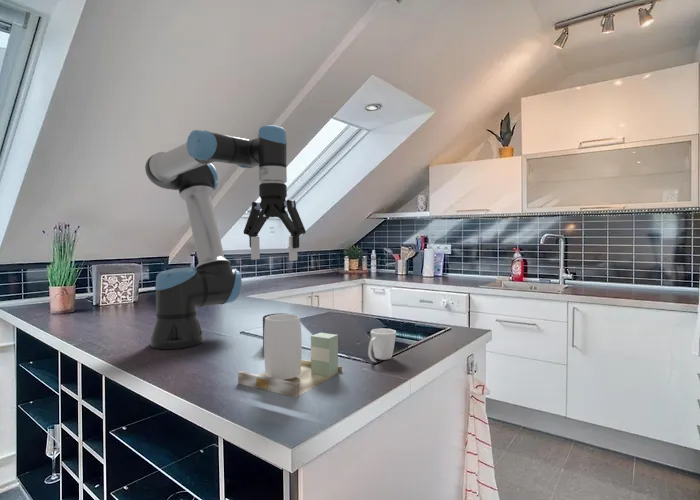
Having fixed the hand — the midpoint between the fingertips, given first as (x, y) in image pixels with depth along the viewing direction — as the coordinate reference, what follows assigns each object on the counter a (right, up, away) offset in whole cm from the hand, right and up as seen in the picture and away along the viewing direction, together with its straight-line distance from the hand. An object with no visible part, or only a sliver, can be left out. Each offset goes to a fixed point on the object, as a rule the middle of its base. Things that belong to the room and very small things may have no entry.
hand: (273, 260), depth 113 cm
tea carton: (+15, -26, -17) cm, 35 cm away
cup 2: (+29, -27, -7) cm, 40 cm away
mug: (+1, -27, +10) cm, 28 cm away
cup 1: (+6, -27, -21) cm, 35 cm away
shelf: (+8, -27, -20) cm, 35 cm away
